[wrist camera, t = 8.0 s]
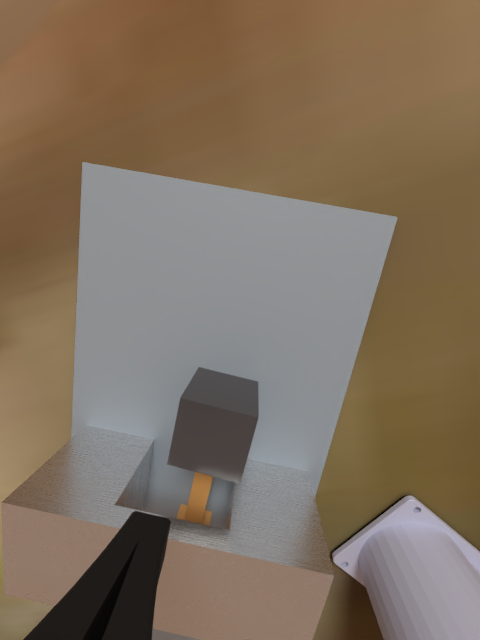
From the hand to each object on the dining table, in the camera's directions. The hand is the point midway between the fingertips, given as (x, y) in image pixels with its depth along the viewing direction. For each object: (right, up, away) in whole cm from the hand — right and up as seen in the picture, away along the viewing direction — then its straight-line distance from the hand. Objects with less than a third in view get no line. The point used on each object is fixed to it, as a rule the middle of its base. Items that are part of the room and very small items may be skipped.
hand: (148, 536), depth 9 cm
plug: (+1, -2, +9) cm, 9 cm away
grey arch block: (0, -4, +10) cm, 11 cm away
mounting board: (0, -4, +10) cm, 10 cm away
